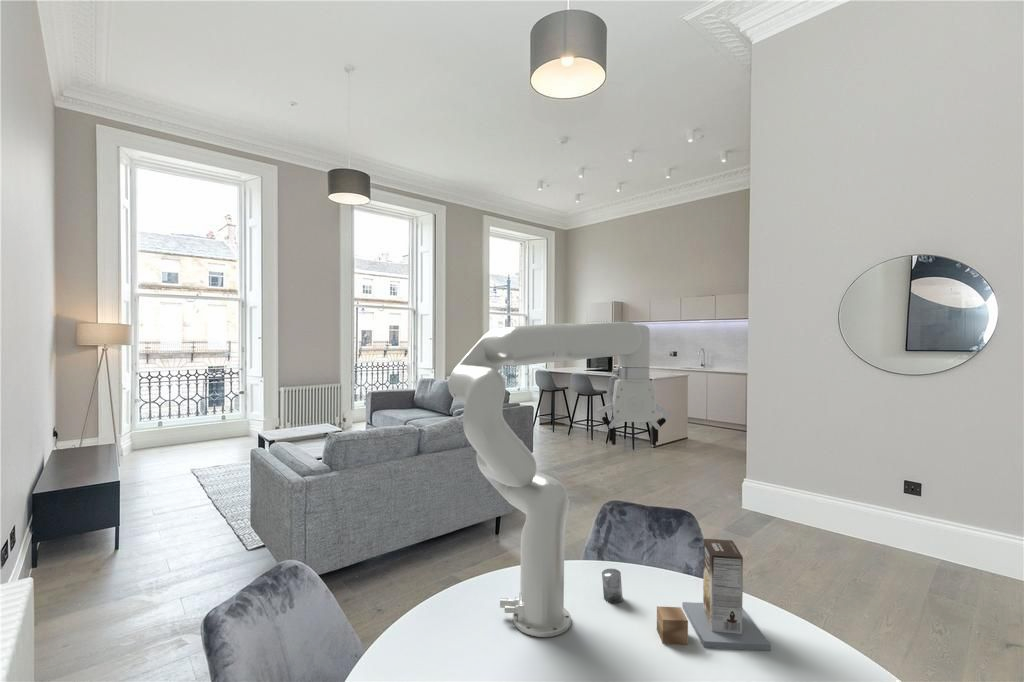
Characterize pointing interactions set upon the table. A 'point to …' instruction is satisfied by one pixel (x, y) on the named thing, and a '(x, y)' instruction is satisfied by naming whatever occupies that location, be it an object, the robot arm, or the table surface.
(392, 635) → the table surface
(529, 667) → the table surface
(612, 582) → the metal canister
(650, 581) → the table surface
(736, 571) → the coffee box
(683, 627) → the walnut block
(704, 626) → the slate board
